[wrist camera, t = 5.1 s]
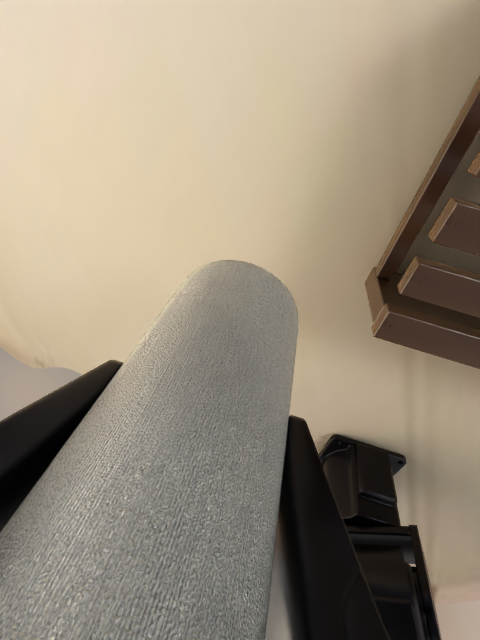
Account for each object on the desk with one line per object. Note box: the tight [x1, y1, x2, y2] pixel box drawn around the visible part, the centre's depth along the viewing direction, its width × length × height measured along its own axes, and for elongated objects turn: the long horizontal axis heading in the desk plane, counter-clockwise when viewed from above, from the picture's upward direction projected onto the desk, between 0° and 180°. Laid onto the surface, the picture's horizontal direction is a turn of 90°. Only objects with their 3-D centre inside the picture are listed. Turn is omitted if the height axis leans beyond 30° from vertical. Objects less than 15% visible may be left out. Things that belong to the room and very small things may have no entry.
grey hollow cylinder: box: [0, 260, 298, 640], centre depth 8 cm, size 4×4×10 cm
